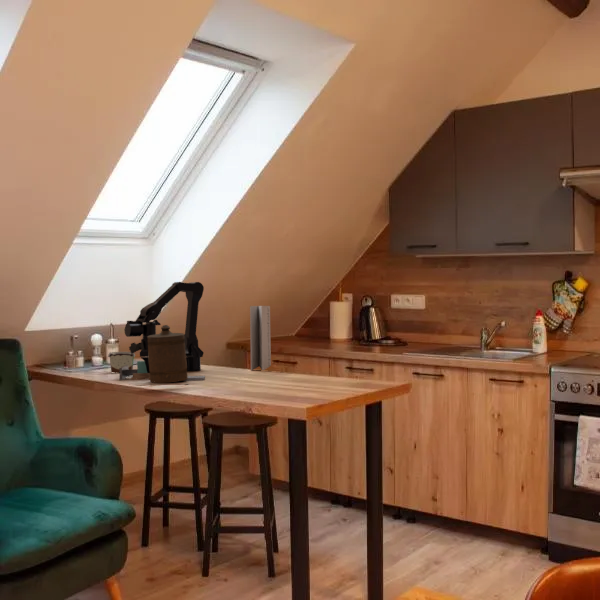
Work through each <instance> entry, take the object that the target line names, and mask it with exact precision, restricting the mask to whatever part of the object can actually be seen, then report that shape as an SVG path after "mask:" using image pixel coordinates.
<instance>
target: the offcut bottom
mask: <svg viewBox="0 0 600 600" xmlns="http://www.w3.org/2000/svg"><path fill="white" fill-rule="evenodd" d="M130 380H131V381H137V380H143V381H144V380H150V377H134V378H133V376H130Z"/></svg>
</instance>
